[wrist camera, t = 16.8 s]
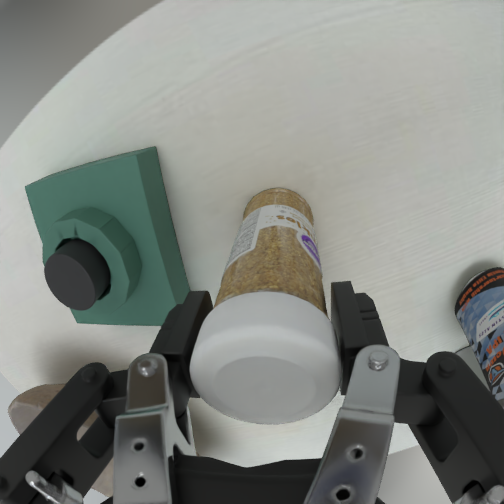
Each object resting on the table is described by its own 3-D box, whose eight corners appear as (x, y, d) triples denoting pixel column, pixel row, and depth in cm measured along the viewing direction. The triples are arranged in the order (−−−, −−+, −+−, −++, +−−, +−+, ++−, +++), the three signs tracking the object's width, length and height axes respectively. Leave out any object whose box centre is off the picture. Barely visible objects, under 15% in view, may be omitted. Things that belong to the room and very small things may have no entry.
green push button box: (48, 175, 20) (6, 195, 16) (156, 146, 19) (119, 161, 14) (92, 303, 25) (65, 338, 21) (193, 301, 24) (175, 345, 19)
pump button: (53, 242, 17) (35, 256, 16) (98, 235, 17) (80, 251, 15) (74, 293, 19) (59, 310, 17) (118, 292, 19) (104, 311, 17)
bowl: (144, 319, 25) (96, 409, 17) (261, 457, 36) (255, 521, 27) (15, 352, 32) (-21, 400, 23) (123, 457, 42) (107, 502, 33)
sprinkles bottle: (327, 216, 20) (375, 384, 8) (280, 263, 22) (271, 442, 10) (272, 171, 19) (251, 301, 7) (228, 223, 21) (159, 386, 9)
